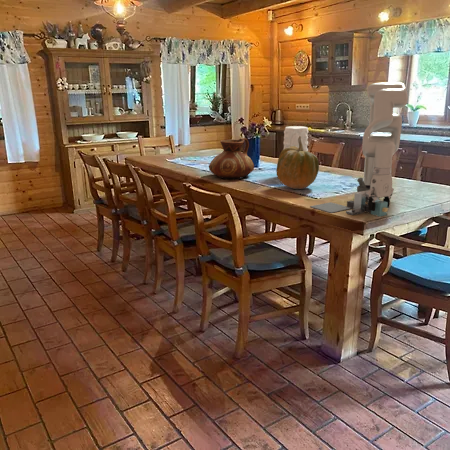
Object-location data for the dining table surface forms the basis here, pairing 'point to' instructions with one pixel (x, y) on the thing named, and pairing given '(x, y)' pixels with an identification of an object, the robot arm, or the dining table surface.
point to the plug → (380, 208)
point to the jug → (232, 160)
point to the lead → (351, 204)
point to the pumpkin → (297, 167)
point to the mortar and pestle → (362, 186)
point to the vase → (295, 136)
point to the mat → (331, 207)
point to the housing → (359, 203)
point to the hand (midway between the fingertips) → (378, 208)
